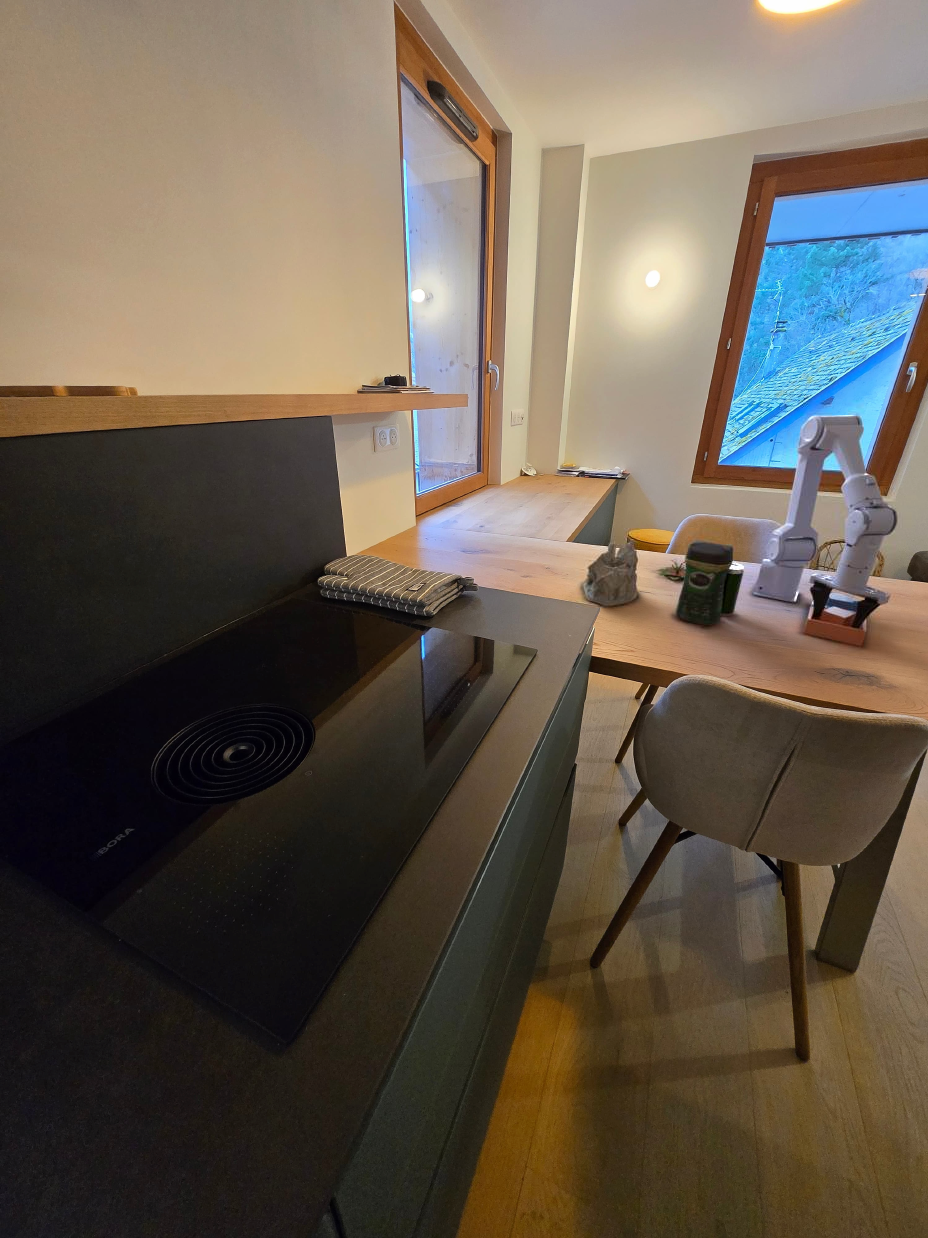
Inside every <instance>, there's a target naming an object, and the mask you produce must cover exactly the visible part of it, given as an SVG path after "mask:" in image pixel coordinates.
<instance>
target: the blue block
mask: <svg viewBox="0 0 928 1238" xmlns="http://www.w3.org/2000/svg"><path fill="white" fill-rule="evenodd" d="M854 596H855V595H847V594H842V593H836V592H832V591H831V593H830V596H829V599H828V602H827V605H826V606H828V607H834V606H835V607H838V608H841V609H844V610H849V611H851V608H852V605H853V600H855V599H854V598H855V597H854Z"/></svg>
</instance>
